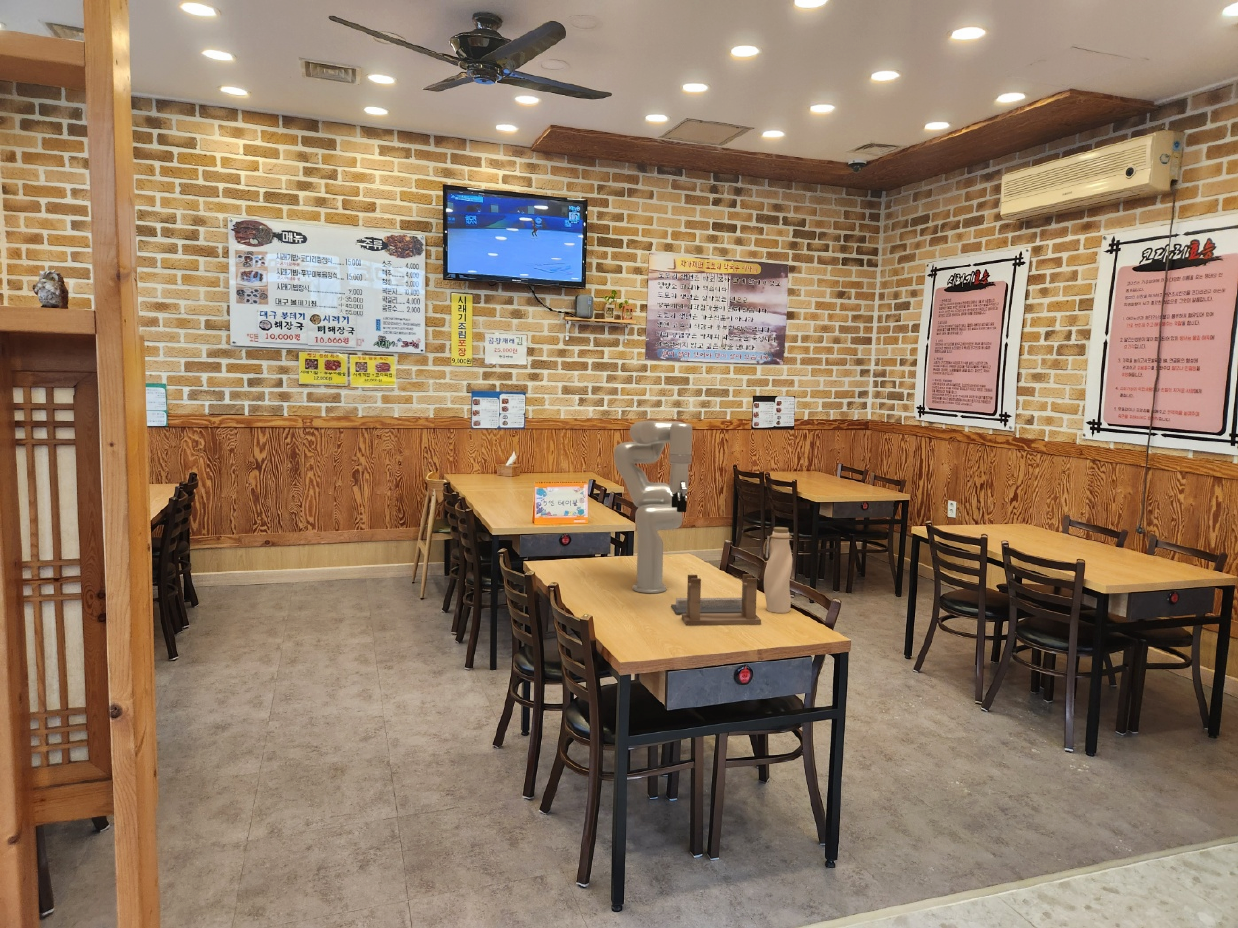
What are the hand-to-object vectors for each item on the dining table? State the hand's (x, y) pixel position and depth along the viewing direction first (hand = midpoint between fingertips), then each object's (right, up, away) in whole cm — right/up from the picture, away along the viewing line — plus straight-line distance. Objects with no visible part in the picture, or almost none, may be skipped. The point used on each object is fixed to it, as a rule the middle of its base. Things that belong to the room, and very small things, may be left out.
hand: (678, 509), depth 269 cm
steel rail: (+11, -33, -3) cm, 35 cm away
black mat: (+11, -34, -3) cm, 36 cm away
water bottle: (+33, -34, -1) cm, 47 cm away
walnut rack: (+12, -35, -16) cm, 40 cm away
